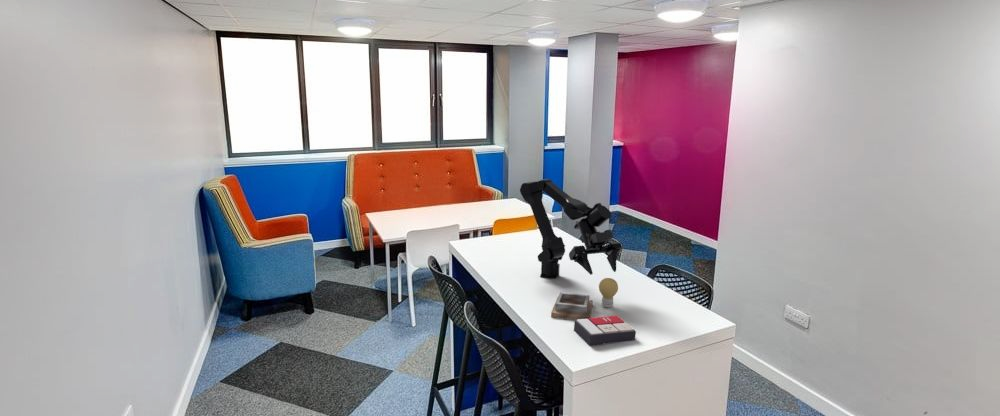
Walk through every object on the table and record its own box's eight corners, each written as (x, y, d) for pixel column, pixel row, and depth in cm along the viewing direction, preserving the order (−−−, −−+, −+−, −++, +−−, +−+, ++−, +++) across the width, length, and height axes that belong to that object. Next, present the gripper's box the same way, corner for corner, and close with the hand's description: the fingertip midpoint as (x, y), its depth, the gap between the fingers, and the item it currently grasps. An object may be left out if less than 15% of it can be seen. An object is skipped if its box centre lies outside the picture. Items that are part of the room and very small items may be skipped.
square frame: (551, 316, 167) (551, 305, 166) (557, 300, 180) (558, 289, 179) (588, 321, 164) (589, 309, 163) (592, 304, 177) (593, 293, 176)
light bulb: (617, 304, 178) (619, 276, 176) (615, 311, 172) (617, 283, 170) (599, 301, 180) (600, 274, 178) (596, 308, 174) (598, 280, 172)
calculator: (636, 329, 152) (591, 333, 147) (635, 342, 153) (589, 347, 148) (617, 314, 162) (574, 317, 157) (616, 326, 163) (573, 330, 158)
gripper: (574, 223, 176) (588, 264, 168) (621, 220, 182) (637, 259, 174) (562, 240, 185) (576, 279, 177) (608, 235, 191) (623, 274, 183)
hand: (603, 272), depth 177 cm, fingers open, 9 cm apart
